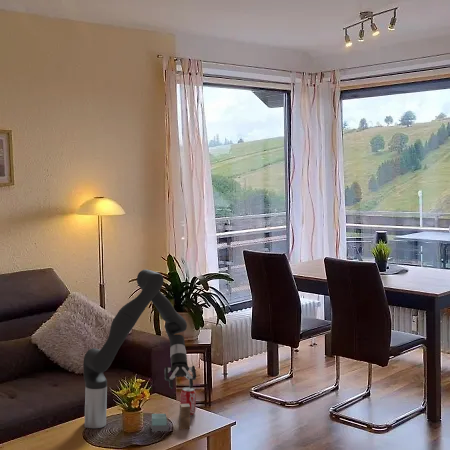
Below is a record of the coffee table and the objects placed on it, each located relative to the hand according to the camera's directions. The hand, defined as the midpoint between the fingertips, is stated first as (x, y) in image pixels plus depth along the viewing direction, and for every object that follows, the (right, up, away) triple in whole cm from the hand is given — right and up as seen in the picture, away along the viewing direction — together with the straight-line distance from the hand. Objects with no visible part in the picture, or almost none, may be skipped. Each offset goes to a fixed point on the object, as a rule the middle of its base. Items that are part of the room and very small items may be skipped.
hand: (181, 388), depth 303 cm
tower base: (-9, -15, -12) cm, 21 cm away
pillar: (+2, -15, -10) cm, 18 cm away
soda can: (+2, -14, +7) cm, 16 cm away
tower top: (-9, -12, -12) cm, 19 cm away
